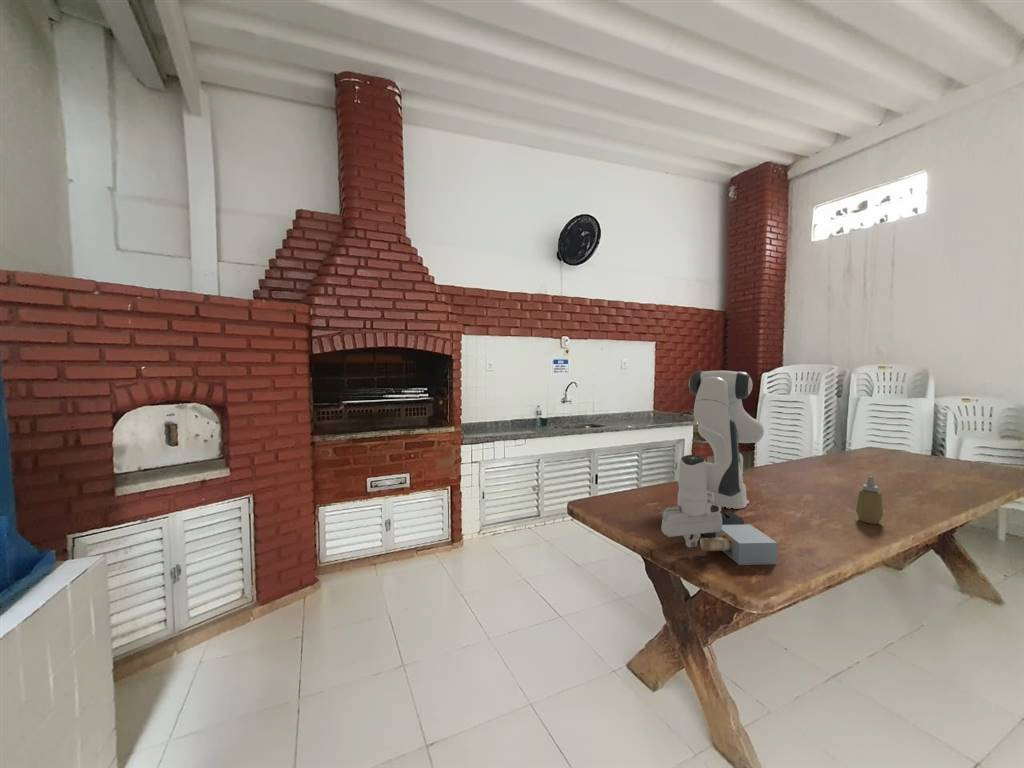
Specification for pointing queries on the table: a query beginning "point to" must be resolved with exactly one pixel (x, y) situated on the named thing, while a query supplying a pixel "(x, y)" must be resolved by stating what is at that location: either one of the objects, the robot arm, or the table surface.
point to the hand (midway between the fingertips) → (691, 546)
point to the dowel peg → (715, 544)
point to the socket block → (749, 545)
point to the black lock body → (727, 522)
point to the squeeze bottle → (869, 503)
